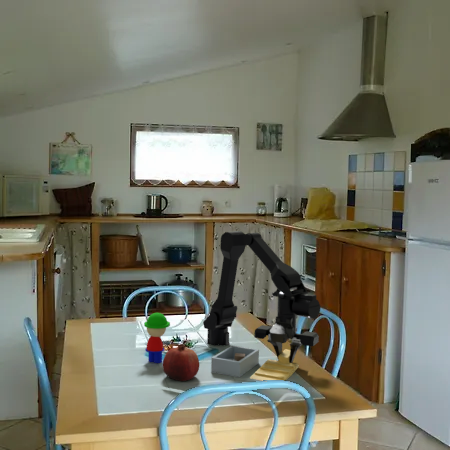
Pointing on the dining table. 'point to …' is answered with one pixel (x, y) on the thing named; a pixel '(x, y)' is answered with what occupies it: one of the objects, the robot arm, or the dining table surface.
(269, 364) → the lid
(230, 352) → the tub
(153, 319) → the toy
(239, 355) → the part block
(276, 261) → the robot arm
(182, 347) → the fruit
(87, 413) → the dining table surface
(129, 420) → the dining table surface
